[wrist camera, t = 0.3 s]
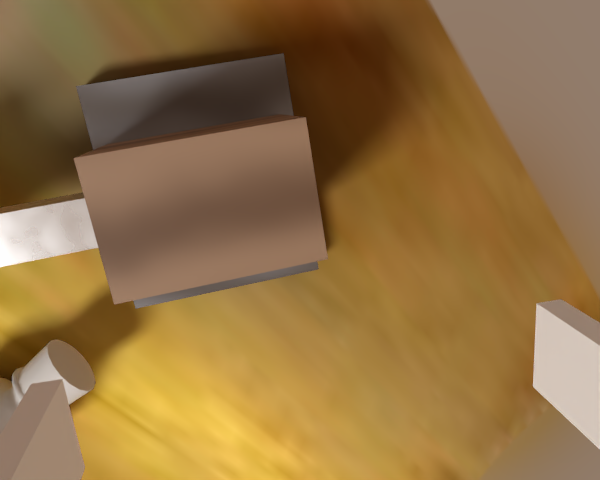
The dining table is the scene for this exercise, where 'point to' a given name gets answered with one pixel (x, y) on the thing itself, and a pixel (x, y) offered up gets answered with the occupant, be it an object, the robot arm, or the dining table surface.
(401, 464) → the dining table surface
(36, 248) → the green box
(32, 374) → the bottle
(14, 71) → the dining table surface
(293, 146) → the bearing block
